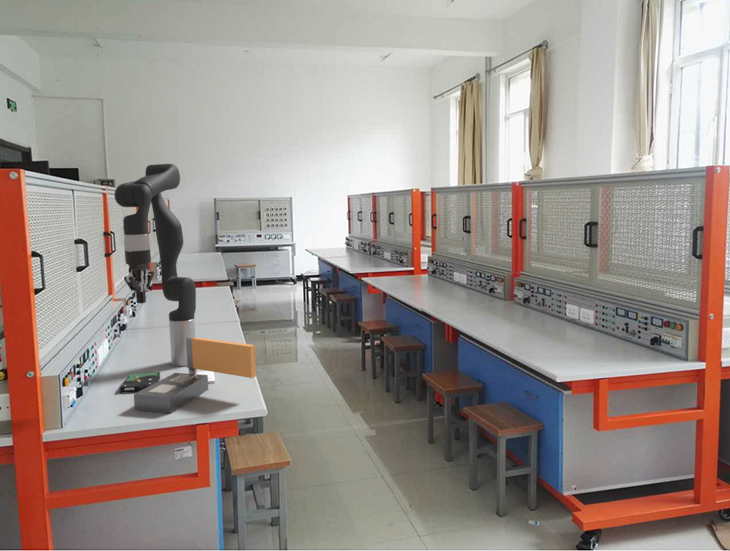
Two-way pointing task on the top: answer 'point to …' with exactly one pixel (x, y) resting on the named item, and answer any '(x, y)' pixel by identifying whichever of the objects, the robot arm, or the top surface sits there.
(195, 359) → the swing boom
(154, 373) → the disk drive
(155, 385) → the grey flat block
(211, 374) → the external hard drive
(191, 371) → the boom post
